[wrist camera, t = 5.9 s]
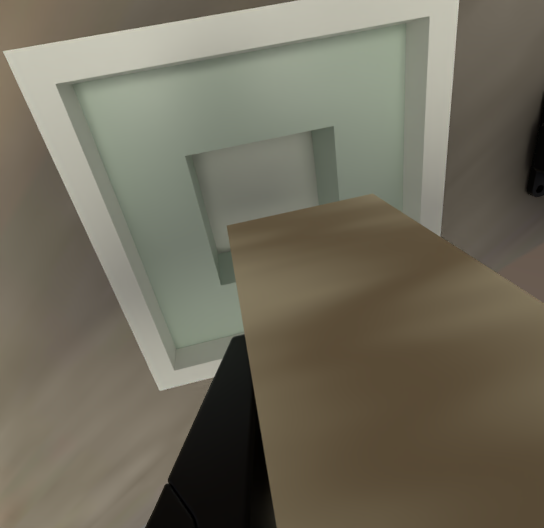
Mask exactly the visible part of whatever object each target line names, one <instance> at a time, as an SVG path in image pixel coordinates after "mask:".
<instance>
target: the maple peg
mask: <svg viewBox="0 0 544 528" xmlns="http://www.w3.org/2000/svg"><path fill="white" fill-rule="evenodd" d="M227 231H228V237H229V243H230V249H231V255H232V261H233V267H234V273H235V279H236V285H237V291H238V297H239V303H240V309H241V315H242V321H243V327H244V333H245V339H246V345H247V351H248V357H249V363H250V369H251V375H252V381H253V387H254V393H255V399H256V405H257V411H258V417H259V423H260V429H261V435H262V441H263V447H264V453H265V459H266V465H267V471H268V477H269V484H270V490H271V496H272V502H273V508H274V514H275V520H276V526H277V528H544V303H543V302H541V301H540V300H538V299H536V298H535V297H533V296H532V295H530V294H529V293H527V292H526V291H524V290H522V289H521V288H519V287H518V286H516V285H515V284H513V283H511V282H510V281H508V280H507V279H505V278H503V277H502V276H501V275H499V274H498V273H496V272H494V271H493V270H491V269H490V268H488V267H487V266H485V265H483V264H482V263H480V262H479V261H477V260H476V259H474V258H473V257H471V256H469V255H468V254H466V253H465V252H463V251H462V250H460V249H459V248H457V247H455V246H454V245H452V244H451V243H449V242H448V241H446V240H445V239H443V238H441V237H440V236H438V235H437V234H435V233H434V232H432V231H430V230H429V229H427V228H426V227H424V226H423V225H421V224H420V223H418V222H416V221H415V220H413V219H412V218H410V217H409V216H407V215H406V214H404V213H402V212H401V211H399V210H398V209H396V208H395V207H393V206H391V205H390V204H388V203H387V202H385V201H384V200H382V199H381V198H379V197H377V196H376V195H374V194H369V195H364V196H359V197H355V198H350V199H346V200H341V201H337V202H332V203H327V204H323V205H318V206H314V207H309V208H305V209H300V210H295V211H291V212H286V213H282V214H277V215H273V216H268V217H263V218H259V219H254V220H250V221H245V222H241V223H236V224H231V225H227Z"/></svg>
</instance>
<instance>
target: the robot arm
mask: <svg viewBox="0 0 544 528" xmlns="http://www.w3.org/2000/svg"><path fill="white" fill-rule="evenodd" d="M537 187H538V188H537ZM527 192H528V194H529V195H532V196H535V197H539V196H543V195H544V107H543V112H542V117H541V122H540V127H539V132H538V137H537V142H536V147H535V152H534V157H533V162H532V168H531V173H530V178H529V183H528V188H527ZM168 483H169V484H168ZM168 483H167V484H165V486H164V488H163V490H162V493H161V495H160V497H159V499H158V502H157V504H156V506H155V508H154V510H153V512H152V514H151V516H150V519H149V521H148V523H147V525H146V527H145V528H277V526H276V520H275V514H274V508H273V502H272V496H271V490H270V484H269V477H268V471H267V465H266V459H265V453H264V447H263V441H262V435H261V429H260V423H259V417H258V411H257V405H256V399H255V393H254V387H253V381H252V375H251V369H250V363H249V357H248V351H247V345H246V339H245V334H242V335H238V336H234V337H233V338H232V339H231V341H230V343H229V345H228V348H227V350H226V352H225V354H224V356H223V359H222V361H221V363H220V365H219V367H218V370H217V372H216V374H215V376H214V378H213V381H212V383H211V385H210V387H209V389H208V392H207V394H206V396H205V398H204V401H203V403H202V405H201V407H200V409H199V412H198V414H197V416H196V418H195V420H194V423H193V425H192V427H191V429H190V431H189V434H188V436H187V438H186V440H185V442H184V445H183V447H182V449H181V451H180V453H179V456H178V458H177V460H176V462H175V464H174V467H173V469H172V471H171V473H170V475H169V478H168Z"/></svg>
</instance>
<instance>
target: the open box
mask: <svg viewBox="0 0 544 528" xmlns="http://www.w3.org/2000/svg"><path fill="white" fill-rule="evenodd" d="M458 8H459V0H298V1H293V2H287V3H281V4H275V5H269V6H264V7H258V8H252V9H246V10H240V11H234V12H229V13H223V14H217V15H211V16H205V17H200V18H194V19H188V20H182V21H176V22H170V23H165V24H159V25H153V26H147V27H141V28H136V29H130V30H124V31H118V32H112V33H107V34H101V35H95V36H89V37H83V38H77V39H72V40H66V41H60V42H54V43H48V44H43V45H37V46H31V47H25V48H19V49H13V50H8V51H3V53H4V55H5V57H6V59H7V61H8V63H9V66H10V68H11V70H12V72H13V74H14V76H15V79H16V81H17V83H18V85H19V87H20V89H21V92H22V94H23V96H24V98H25V100H26V102H27V105H28V107H29V109H30V111H31V113H32V115H33V118H34V120H35V122H36V124H37V126H38V128H39V131H40V133H41V135H42V137H43V139H44V141H45V144H46V146H47V148H48V150H49V152H50V154H51V157H52V159H53V161H54V163H55V165H56V167H57V170H58V172H59V174H60V176H61V178H62V180H63V183H64V185H65V187H66V189H67V191H68V193H69V196H70V198H71V200H72V202H73V204H74V206H75V209H76V211H77V213H78V215H79V217H80V219H81V222H82V224H83V226H84V228H85V230H86V232H87V235H88V237H89V239H90V241H91V243H92V245H93V248H94V250H95V252H96V254H97V256H98V258H99V261H100V263H101V265H102V267H103V269H104V271H105V274H106V276H107V278H108V280H109V282H110V284H111V287H112V289H113V291H114V293H115V295H116V297H117V300H118V302H119V304H120V306H121V308H122V310H123V313H124V315H125V317H126V319H127V321H128V323H129V326H130V328H131V330H132V332H133V334H134V336H135V339H136V341H137V343H138V345H139V347H140V349H141V352H142V354H143V356H144V358H145V360H146V362H147V365H148V367H149V369H150V371H151V373H152V375H153V378H154V380H155V382H156V384H157V386H158V388H159V391H162V390H166V389H169V388H173V387H177V386H181V385H185V384H189V383H193V382H197V381H201V380H205V379H208V378H212V377H214V376H215V374H216V372H217V370H218V367H219V365H220V363H221V361H222V359H223V356H224V354H225V352H226V350H227V348H228V345H229V343H230V341H231V339H232V338H233V337H234V336H238V335H242V334H245V333H244V327H243V321H242V315H241V309H240V303H239V297H238V291H237V285H236V279H235V273H234V267H233V261H232V255H231V249H230V243H229V237H228V231H227V225H231V224H236V223H241V222H245V221H250V220H254V219H259V218H263V217H268V216H273V215H277V214H282V213H286V212H291V211H295V210H300V209H305V208H309V207H314V206H318V205H323V204H327V203H332V202H337V201H341V200H346V199H350V198H355V197H359V196H364V195H369V194H374V195H376V196H377V197H379V198H381V199H382V200H384V201H385V202H387V203H388V204H390V205H391V206H393V207H395V208H396V209H398V210H399V211H401V212H402V213H404V214H406V215H407V216H409V217H410V218H412V219H413V220H415V221H416V222H418V223H420V224H421V225H423V226H424V227H426V228H427V229H429V230H430V231H432V232H434V233H435V234H437V235H438V236H440V237H441V224H442V211H443V198H444V186H445V173H446V160H447V148H448V135H449V122H450V110H451V97H452V84H453V71H454V59H455V46H456V33H457V21H458Z"/></svg>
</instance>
